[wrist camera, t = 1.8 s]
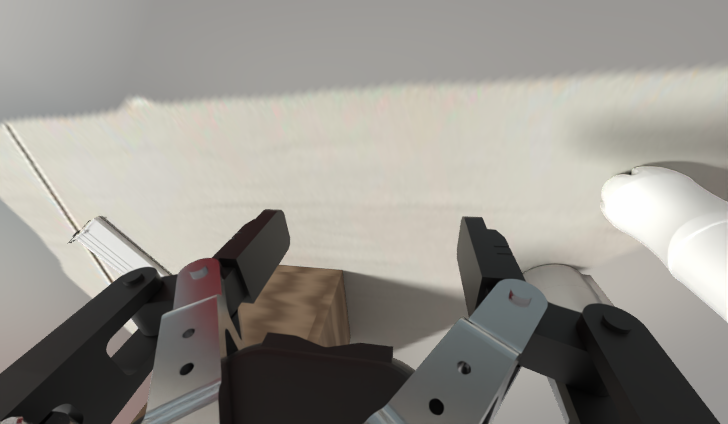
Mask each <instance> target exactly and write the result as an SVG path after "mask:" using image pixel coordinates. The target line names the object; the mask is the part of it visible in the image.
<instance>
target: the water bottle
mask: <svg viewBox="0 0 728 424" xmlns="http://www.w3.org/2000/svg"><path fill="white" fill-rule="evenodd" d="M631 174H632V175H626V174H620V175H615V176H614V177H612V178H610V179H609V180H608V181H607V182H606V183H605V184H604V185H603V188H602V191H601V196H602V201H601V202H600V208H601V211H602V213H603V214H604V216H605V217H606V218H607V219H608V221H609V222H610V223H611V224H612V225H614V226H615V227H616V228H617V229H619V230H620V231H622V232H624V233H626V234H628V235H630V236H631V237H633V238H635V239H637V240H638V241H639V242H641V243H642V244H643V245H645V246H646V247H647V248H648V249H650V250H651V251H652V252H653V253H654V254H655V255H656V256H657V257H658V258H659V259H660V260H661V261H662V262H663V263H664V264H665V266H666V267H667V268H668V269H669V271H670V272H671V274H672V275H673V277H674V278H676V279H677V280H678V281H680V282H681V283H683V284H684V285H685V286H686V287H687V288H688V289H690V290H691V291H692V292H693V293H694V294H695V295H696V296H698V297H699V298H700V299H701V300H702V301H703V302H704V303H706V304H707V305H708V306H709V307H710V308H711V309H713V310H714V311H715V312H716V313H717V314H718V315H720V316H721V317H722V318H723V319H724V320H725V321H726V322H727V323H728V201H725V200H723V199H721V198H719V197H718V196H716V195H714V194H712V193H710V192H709V191H707V190H705V189H704V188H702V187H701V186H700V185H698V184H697V183H696V182H695V181H694V180H692V179H691V178H690V177H688V176H686V175H684V174H682V173H679V172H677V171H674V170H671V169H667V168H663V167H655V166H640V167H636V168H632V173H631Z"/></svg>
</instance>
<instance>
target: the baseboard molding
mask: <svg viewBox="0 0 728 424" xmlns="http://www.w3.org/2000/svg"><path fill="white" fill-rule="evenodd" d="M90 221H91V220H90ZM88 222H89V221H88ZM79 232H80V231H78V232H76V233H75V234H74V236H72V237H73V238H74V237H75V236H76V235H77V234H78V233H79ZM73 238H72V239H73ZM72 239H71V240H72ZM71 240H70V241H71ZM75 240H77V241H79V242H80V243H81V244H82V245H84V246H85V247H86V248H88V249H89V250H90V251H92V252H93V253H94V254H95V255H97V256H98V257H99V258H101V259H102V260H103V261H105V262H106V263H107V264H108V265H110V266H111V267H112V268H114V269H115V270H116V271H117V272H119V273H120V274H121V275H124V274H126V273H128V272H130V271H132V270H135V269H138V268H142V267H154V268H156V270H157V271H158V273H159V275H160V276H161V277H164V276H170V275H169V274H168V273H167V272H166V271H164V270H163V269H162V268H161V267H160V266H158V265H157V264H156V263H155V262H154V261H152V260H151V259H150V258H149V257H148V256H146V255H145V254H144V253H143V252H142V251H140V250H139V249H138V248H137V247H136V246H134V245H133V244H132V243H131V242H130V241H128V240H127V239H126V238H125V237H123V236H122V235H121V234H120V233H119V232H117V231H116V230H115V229H114V228H113V227H111V226H110V225H109V224H108V223H107V222H105V221H104V220H103V219H102V218H101V217H99V216H98V217H96V218H94V219H93V220H92V221H91V222H90V223H89V224H88V225H87V226H86V228H85V229H84V230H83V231H82V232H81V233H80V234H79V235H78V236H77V237H76V239H75ZM70 241H69V242H70ZM73 241H74V240H73ZM70 243H72V242H70ZM67 244H68V243H67Z"/></svg>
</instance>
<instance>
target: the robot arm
mask: <svg viewBox="0 0 728 424" xmlns="http://www.w3.org/2000/svg"><path fill="white" fill-rule="evenodd" d="M289 246H290V236H289V232H288V228H287V224H286V219H285V215H284V212H283V211H282V210H270V209H265V210H264V211H263V212H262V213H261V214H260V215H259V216H258V217H257V218H256V219H254V220H252V221H250V222H249V223H247V224H245V225H244V226H243V227H242V228H241V229H240V230H239V231H238V232H237V233H236V234H235V235H234V236H233V237H232V239H230V240H229V241H228V242H227V243H226V244H225V245H224V246H223V247H222V248H221V249H220V250H219V251H218V252H217V253H216V254H215V255H214V256H213V257H212V258H203V259H199V260H196V261H194V262H192V263H190V264H188V265H187V266H185V267H184V268H183V269H182V270H181V271H180V272H179V273H178V274H176V275H170V276H164V277H161V276H160V275H159V273H158V271H157V270H156V268H154V267H142V268H138V269H135V270H132V271H130V272H128V273H126V274H124V275H122V276H121V277H119V278H118V279H117V280H115V281H114V282H113V283H112V284H111V285H109V286H108V287H107V288H106V289H104V290H103V291H102V292H101V293H99V294H98V295H97V296H96V297H94V298H93V299H92V300H91V301H90V302H88V303H87V304H86V305H85V306H83V307H82V308H81V309H80V310H78V311H77V312H76V313H75V314H73V315H72V316H71V317H70V318H69V319H67V320H66V321H65V322H64V323H62V324H61V325H60V326H59V327H57V328H56V329H55V330H54V331H53V332H51V333H50V334H49V335H48V336H46V337H45V338H44V339H43V340H41V341H40V342H39V343H38V344H36V345H35V346H34V347H33V348H31V349H30V350H29V351H28V352H27V353H25V354H24V355H23V356H22V357H20V358H19V359H18V360H17V361H15V362H14V363H13V364H12V365H11V366H9V367H8V368H7V369H6V370H4V371H3V372H2V373H1V374H0V424H111V423H112V421H113V420H114V419H115V418H116V416H117V415H118V414H119V412H120V411H121V410H122V409H123V407H124V406H125V404H126V403H127V402H128V401H129V399H130V398H131V397H132V395H133V394H134V393H135V392H136V390H137V389H138V388H139V386H140V385H141V384H142V382H143V381H144V380H145V378H146V377H147V376H148V375H149V373H150V372H151V371H152V370H153V372H152V378H151V384H150V390H149V397H148V402H147V408H146V414H145V415H143V416H142V417H141V418H139V419H138V420H136V421H135V422H133V423H132V424H492V422H493V420H494V418H495V416H496V414H497V411H498V410H499V408H500V406H501V404H502V402H503V400H504V399H505V396H506V395H507V393H508V391H509V389H510V387H511V386H512V384H513V382H514V380H515V378H516V376H517V374H518V372H519V371H520V369H521V367H525V368H527V369H530V370H532V371H535V372H537V373H540V374H542V375H545V376H547V378H548V381H549V383H550V386H551V388H552V391H553V393H554V396H555V398H556V401H557V403H558V406H559V408H560V410H561V413H562V416H563V418H564V420H565V423H566V424H720V423H719V422H718V420H717V419H716V418H715V417H714V415H713V414H712V412H711V411H710V410H709V408H708V407H707V406H706V405H705V403H704V402H703V401H702V399H701V398H700V397H699V395H698V394H697V393H696V392H695V390H694V389H693V388H692V386H691V385H690V384H689V382H688V381H687V380H686V378H685V377H684V376H683V375H682V373H681V372H680V371H679V369H678V368H677V367H676V366H675V364H674V363H673V362H672V360H671V359H670V358H669V356H668V355H667V354H666V353H665V351H664V350H663V349H662V347H661V346H660V345H659V343H658V342H657V341H656V339H655V338H654V337H653V335H652V334H651V333H650V332H649V330H648V329H647V328H646V327H645V325H644V324H642V323H641V322H640V321H639V320H638V319H637V318H635V317H634V316H632V315H631V314H629V313H627V312H626V311H623V310H622V309H619V308H617V307H614V305H613V304H612V303H611V301H610V300H609V299H608V298H607V297H606V295H605V294H604V293H603V291H602V290H601V289H600V287H599V286H598V285H597V283H596V282H595V281H594V280H593V278H592V277H591V276H590V275H583V274H581V273H580V272H578V271H577V270H576V269H574V268H571V267H569V266H565V265H558V264H550V265H543V266H538V267H535V268H533V269H530V270H529V271H527V272H525V273H524V274H522V272H521V270H520V268H519V266H518V264H517V262H516V260H515V258H514V256H513V253H512V251H511V249H510V248H509V245H508V243H507V241H506V239H505V237H504V236H502V235H501V234H500V233H499V232H498V231H496V230H491V229H487V228H486V225H485V223H484V220H483V218H482V217H462V220H461V225H460V232H459V239H458V245H457V261H458V266H459V271H460V275H461V280H462V285H463V290H464V295H465V300H466V305H467V309H468V314H469V318H468V319H466V318H464V317H462V318H460V319H459V320H458V321H457V322H456V323H455V325H454V326H453V327H452V328H451V329H450V330H449V332H448V333H447V334H446V335H445V336H444V338H443V339H442V340H441V341H440V342H439V343H438V345H437V346H436V347H435V348H434V349H433V351H432V352H431V353H430V354H429V355H428V357H427V358H426V359H425V360H424V361H423V362H422V364H421V365H420V366H419V367H418V368H417V369H416V371H415V370H414V369H412V368H411V367H410V366H408V365H407V364H405V363H403V362H401V361H400V360H397V359H395V358H393V347H390V346H382V345H373V344H365V343H356V344H348V345H340V346H332V347H323V346H321V345H318V344H316V343H313V342H311V341H309V340H306V339H304V338H301V337H299V336H297V335H288V334H280V333H271V332H267V334H266V336H265V338H264V340H263V342H262V343H258V344H254V345H250V346H248V347H246V346H245V339H244V333H243V326H242V319H241V313H240V310H239V308H238V307H239V306H240V304H241V303H251V304H254V302H255V301H256V299H257V298H258V296H259V294H260V293H261V291H262V290H263V288H264V287H265V285H266V284H267V282H268V280H269V279H270V277H271V276H272V274H273V273H274V271H275V269H276V268H277V266H278V265H279V263H280V262H281V260H282V259H283V257H284V255H285V254H286V252H287V251H288V249H289ZM130 318H131V319H132V320H133V321H134V323H135V324H136V325H137V327H138V330H137V331H136V332H135V333H134V334H133V335H132V336H131V337H130V338H129V339H128V340H127V341H126V342H125V343H124V344H123V346H122V347H121V348H120V349H119V350H118V351H117V352H116V353H115V354H114V355H113V356H112V357H111V358H110V357H109V355H108V354H107V352H106V347H107V344H108V342H109V340H110V339H111V338H112V336H113V335H114V334H115V333H116V332H117V331H118V330H119V329H120V328H121V327H122V326H123V325H124V324H125V323H126V322H127V321H128V320H129V319H130Z"/></svg>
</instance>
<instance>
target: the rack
mask: <svg viewBox="0 0 728 424" xmlns="http://www.w3.org/2000/svg"><path fill="white" fill-rule="evenodd" d="M238 308H239V310H240V313H241V319H242V326H243V333H244V339H245V346H246V347H248V346H250V345H254V344H258V343H262V342H263V340H264V338H265V336H266V334H267V332H271V333H280V334H288V335H297V336H299V337H301V338H304V339H306V340H309V341H311V342H313V343H316V344H318V345H321V346H323V347H332V346H340V345H348V344H349V342H350V330H349V321H348V313H347V305H346V296H345V288H344V279H343V271H342V270H333V269H321V268H309V267H297V266H285V265H278V266H277V268H276V269H275V271H274V273H273V274H272V276H271V277H270V279H269V280H268V282H267V284H266V285H265V287H264V288H263V290H262V291H261V293H260V294H259V296H258V298H257V299H256V301H255V302H254V304H251V303H241V304H240V306H239V307H238ZM146 408H147V403H146V404H145V405H144V407H143V408H142V409H141V411H140V412H139V413H138V415H137V416H136V417H135V418H134V420H133V421H132V422H131V424H132V423H133V422H135V421H136V420H138V419H139V418H141V417H142V416H143V415H145V414H146Z"/></svg>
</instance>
